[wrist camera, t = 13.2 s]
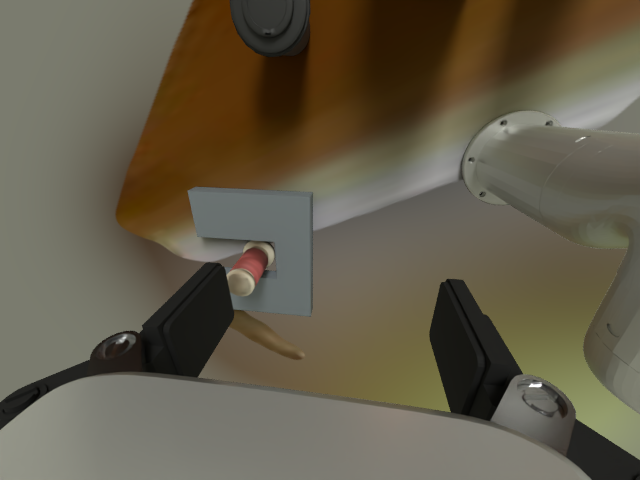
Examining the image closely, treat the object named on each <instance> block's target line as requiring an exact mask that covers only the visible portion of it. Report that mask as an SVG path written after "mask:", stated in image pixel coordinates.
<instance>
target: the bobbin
mask: <svg viewBox="0 0 640 480" xmlns="http://www.w3.org/2000/svg"><path fill="white" fill-rule="evenodd" d="M274 259H275V250H274V248H273V246H272V245H271V244H270V243H269V242H268V241H253V240H250V241H249V242H248V243H247V244H246V245H245V247H244V249H243V255H242V256H241V257H240V259H239V260H238V261H237V263H236V264H235V265H234V266H233V268H232V269H231V270H230V272H229V273H228V274H227V280H228V285H229V290H230V292H231V293H233V294H234V295H237V296H248V295H249V294H251V293H252V291H253V290H254V288H255V286H256V284H257V283H258V281H259V279H260V277H261V276H262V274H263V272H264V270H265V269H266V268H267V267H269V266H270V265H271V264H272V263H273V261H274Z"/></svg>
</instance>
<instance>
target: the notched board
mask: <svg viewBox="0 0 640 480" xmlns="http://www.w3.org/2000/svg"><path fill="white" fill-rule="evenodd" d="M188 195H189V200H190V204H191V209H192V214H193V218H194V223H195V228H196V232H197V237H209V238H224V239H239V240H253V241H268V242H274V244H275V258H276V271H267V270H264V272H263V274H262V276H261V277H260V279H259V281H258V283H257V284H256V286H255V288H254V290H253V291H252V293H251V294H249V295H248V296H237V295H234V294H233V293H231V292H230V295H231V300H232V305H233V309H236V310H246V311H257V312H267V313H278V314H289V315H299V316H309V317H310V316H311V313H312V308H313V303H312V302H313V192H294V191H273V190H252V189H231V188H209V187H195V188H193V189H191V190H189V191H188ZM224 268H225V270H226V275H227V274H228V273H229V272H230V270H231V269H232V268H229V267H224Z"/></svg>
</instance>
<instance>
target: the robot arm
mask: <svg viewBox="0 0 640 480" xmlns="http://www.w3.org/2000/svg"><path fill="white" fill-rule="evenodd" d="M501 121H502V124H501V125H500V122H501ZM545 124H546V125H545ZM469 158H471V160H470V161H468V159H469ZM462 177H463V180H464V183H465V185H466V187H467V189H468V190H469V191H470V192H471V193H472V194H473V195H474V196H475V197H476V198H478V199H479V200H481V201H484V202H486V203H489V204H493V205H511V206H513V207H514V208H516V209H518V210H519V211H521V212H522V213H524V214H526V215H527V216H529V217H530V218H532V219H534V220H535V221H537V222H539V223H540V224H542V225H543V226H545V227H546V228H548V229H550V230H551V231H553V232H554V233H557V234H558V235H560V236H561V237H563V238H565V239H567V240H569V241H571V242H573V243H576V244H579V245H582V246H586V247H592V248H599V249H622V248H628V249H627V252H626V254H625V256H624V258H623V260H622V262H621V264H620V266H619V268H618V270H617V275H616V276H615V278H614V280H613V282H612V284H611V286H610V288H609V289H608V291H607V293H606V295H605V297H604V299H603V300H602V302H601V304H600V306H599V308H598V310H597V311H596V313H595V316H594V318H593V320H592V322H591V323H590V326H589V328H588V330H587V332H586V335H585V339H584V345H583V351H584V357H585V360H586V362H587V364H588V366H589V368H590V370H591V371H592V373H593V374H594V375H595V377H596V378H597V379H598V380H599V381H600V382H601V383H602V385H603V386H605V387H606V388H607V389H608V390H609V391H610V392H611V393H612V394H613V395H615V396H616V397H617V398H618V399H619V400H621V401H622V402H623V403H625V404H626V405H627V406H629V407H630V408H632V409H633V410H634V411H636V412H637V413H639V414H640V134H637V133H624V132H612V131H601V130H590V129H578V128H567V127H562V126H561V125H560V124H559V123H558V122H557V120H556V119H554V118H553V117H551V116H550V115H548V114H545V113H542V112H539V111H530V110H529V111H516V112H511V113H508V114H505V115H502V116H500V117H498V118H496V119H495V120H493V121H491V122H490V123H488V124H487V125H486V126H485V127H483V128H482V129H481V130H480V131H479V132H478V133H477V134H476V135H475V137H474V138H473V139H472V141H471V142H470V144H469V146H468V148H467V150H466V152H465V155H464V158H463V162H462ZM481 192H482V193H481ZM480 193H481V194H480ZM233 318H234V310H233V305H232V300H231V295H230V290H229V285H228V280H227V275H226V270H225V268H224V267H222V265H221V264H220V263H210V262H207V263H205V264H204V265H203V266H202V267H201V269H199V270H198V271H197V272H196V273H195V274H194V275H193V276H192V277H191V278H190V279H189V280H188V281H187V282H186V283H185V284H184V285H183V286H182V287H181V288H180V289H179V290H178V291H177V292H176V293H175V294H174V295H173V296H172V297H171V298H170V299H169V300H168V301H167V302H166V303H165V304H164V305H163V306H162V307H161V308H159V309H158V311H157V312H155V313H154V314H153V315H152V316H151V317H150V319H148V320H147V321H146V322H145V323H144V324H143V325H142V327H143V330H142V331H141V332H140V333H138V332H136V331H123V332H120V333H116V334H114V335H112V336H110V337H108V338H106V339H104V340H103V341H102V342H100V343H99V344H98V345H97V346H96V347H95V348H94V349H93V351H92V353H91V355H90V360H88V361H85V362H83V363H81V364H78V365H75V366H73V367H71V368H68V369H66V370H63V371H61V372H58V373H56V374H53V375H51V376H48V377H46V378H44V379H41V380H39V381H36V382H34V383H31V384H29V385H27V386H25V387H22V388H21V389H18V390H17V391H15V392H13V393H12V394H10V395H9V396H8V397H6V398H5V399H4V400H3V401H1V402H0V480H640V460H639V459H637V458H635V457H634V456H632V455H631V454H629V453H628V452H626V451H625V450H623V449H621V448H620V447H619V446H617V445H615V444H614V443H612V442H611V441H609V440H608V439H606V438H605V437H603V436H602V435H600V434H598V433H597V432H595V431H594V430H592V429H591V428H589V427H587V426H586V425H585V424H583V423H581V422H580V421H578V420H577V419H576V411H575V408H574V406H573V404H572V403H571V401H570V400H569V399H568V397H567V396H566V395H565V394H564V393H563V392H562V391H561V390H559V389H558V388H557V387H556V386H554V385H553V384H551V383H550V382H548V381H546V380H544V379H541V378H539V377H536V376H532V375H524V374H523V373H522V371H521V369H520V368H519V366H518V364H517V363H516V361H515V359H514V358H513V356H512V354H511V353H510V351H509V349H508V348H507V346H506V345H505V343H504V341H503V340H502V338H501V336H500V335H499V333H498V331H497V330H496V328H495V326H494V325H493V323H492V321H491V320H490V318H489V317H488V316H487V315H483V313H482V311H481V310H480V308H479V306H478V305H477V303H476V301H475V299H474V298H473V296H472V294H471V293H470V291H469V289H468V288H467V286H466V284H465V282H464V281H463V280H457V279H447V280H446V282H442V283H441V285H440V289H439V293H438V297H437V302H436V306H435V310H434V315H433V319H432V323H431V328H430V342H431V345H432V349H433V352H434V356H435V359H436V362H437V366H438V369H439V373H440V376H441V380H442V383H443V387H444V390H445V394H446V397H447V400H448V404H449V407H450V411H451V412H445V411H439V410H432V409H426V408H419V407H412V406H406V405H400V404H393V403H386V402H378V401H371V400H364V399H357V398H349V397H342V396H335V395H328V394H320V393H313V392H305V391H297V390H290V389H283V388H275V387H267V386H260V385H252V384H244V383H236V382H228V381H220V380H212V379H204V378H197V377H198V376H199V374H200V372H201V371H202V369H203V368H204V366H205V364H206V363H207V361H208V359H209V358H210V356H211V355H212V353H213V351H214V350H215V348H216V346H217V345H218V343H219V342H220V340H221V338H222V337H223V335H224V333H225V332H226V330H227V329H228V327H229V325H230V324H231V322H232V320H233Z"/></svg>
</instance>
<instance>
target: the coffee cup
mask: <svg viewBox="0 0 640 480" xmlns="http://www.w3.org/2000/svg"><path fill="white" fill-rule="evenodd" d="M230 8H231V15H232V20H233V23H234V25H235V28H236V30H237V33H238V34H239V36H240V37H241V39H242V40H243V41H244V43H245V44H246V45H247V46H248V47H249V48H251V49H252V50H253V51H255V52H256V53H258V54H261V55H264V56H267V57H276V56H282V55H285V56H295V55H297V54H299V53H300V52H301V51H302V50H303V49H304V48H305V47H306V45H307V43H308V41H309V36H310V24H309V16H310V0H230Z"/></svg>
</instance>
